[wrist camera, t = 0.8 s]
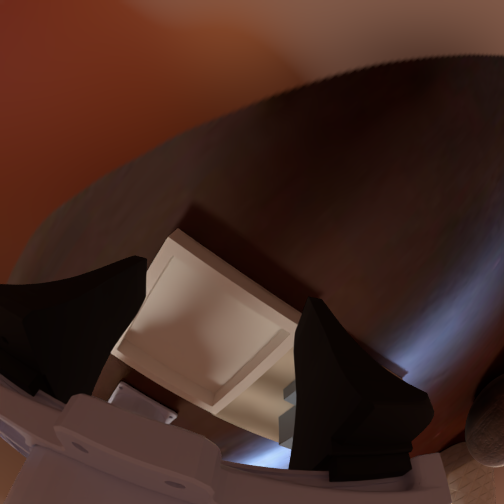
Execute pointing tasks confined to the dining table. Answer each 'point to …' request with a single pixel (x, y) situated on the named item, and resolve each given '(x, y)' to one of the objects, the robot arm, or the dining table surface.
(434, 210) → the dining table surface
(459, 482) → the vase
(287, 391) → the grey blocky piece
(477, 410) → the glass ball
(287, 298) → the dining table surface
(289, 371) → the tan square tile
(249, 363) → the tray
